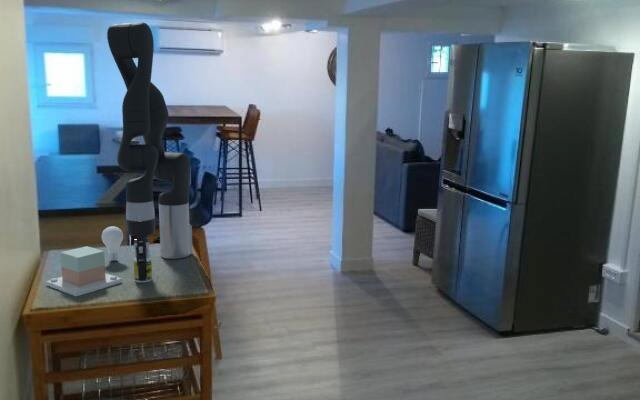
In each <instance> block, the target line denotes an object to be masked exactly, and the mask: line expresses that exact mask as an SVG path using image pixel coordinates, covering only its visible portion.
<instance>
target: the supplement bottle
mask: <svg viewBox="0 0 640 400" xmlns="http://www.w3.org/2000/svg"><path fill="white" fill-rule="evenodd" d="M150 256H151V252H150V249H149V250H148V257H147V278H146V279H139V276H138V266H137V258H136V257H134V258H133V269H134V271H133V272H134V282H136V283H140V284H141V283H142V284H143V283H149V282H151V281H152V280H153V269H152V268H153V267H152V258H151V257H150ZM141 261H144V259H139V262H141Z"/></svg>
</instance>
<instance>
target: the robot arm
mask: <svg viewBox="0 0 640 400" xmlns="http://www.w3.org/2000/svg"><path fill="white" fill-rule="evenodd" d="M106 39H107V43H108V47H109V50H110V52H111V54H112V55H111V56H112V57H113V60H114V62H115V64H116V67H117V68H118V71H119V73H120V75H121V78H122V80H123V82H124V85H125V88H126V92H125V95H124V97H123V100H122V109H121V111H122V135H121V141H120V145H119V149H118V152H117V156H116V157H117V158H116V160H117V164H118V167H119V168H120V169H121V170H123V171H126V172H128V171H144V174H143V175H141V176H139V177H135V178H131V179H129V180H127V181H126V183H125V195H126V197H125V199H126V205H125V217H126V218H125V219H126V233H127V235H128V236H131V237H136V238H134V241H133V247H134V258H137V266H138V276H139V279H146V278H147V257H148V250H149V251H150V249H149V247H150V238H148V236H151V235H153V234H155V232H156V217H155V216H156V215H155V204H154V191H153V190H154V187H153V186H154V178H155V179H156V180H158V181H160V182H169V183H170V182H171V183H172V182H173V185H172V188H171V189H170V190H167V191H165V192H161V193H159V195H158V216H159V218H158V219H159V243H160V257H162V258H164V259H167V260H168V259H169V260H170V259H171V260H176V259H177V260H178V259H183V258H184V259H185V258H187V257H189V256H190V255H192V254H193V229H192V228H193V226H192V224H190V206H189V205H190V203H189V198H190V190H191V189H190V188H191V187H190V183H191V180H190V179H191V178H190V177H191V176H190V175H191V164H190V158H189V156H188V155H187V154H186V153H184V152H177V151H176V152H174V151H173V152H171V151H165V147H164V145H163V140H162V139H163V135H164V133H165V130H166V127H167V125H168V122H169V110H168V107H167V105H166V101H165V98H164V96H163V93H162V91H161V90H160V89H159V88H158V87H157V86H156V85H155V84H154V83H153V82H152V80H151V79H152V73H153V59H154V51H155V49H154V47H155V45H154V43H155V42H154V36H153V32H152V29H151V27H150V26H149V24H148V23H146V22H142V21H141V22H127V23H115V24H111V25H109V27H108V28H107V32H106ZM134 59H137V65H136V63H135V61H134ZM138 137H142V138H143V140H144V144H138V143H137V144H131V143H132V141H133V139H135V138H138ZM139 259H144V261H141V262H139Z"/></svg>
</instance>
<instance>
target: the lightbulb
mask: <svg viewBox="0 0 640 400" xmlns="http://www.w3.org/2000/svg"><path fill="white" fill-rule="evenodd" d="M123 240H124V233H123V231H122V229H121V228H119V227H118V226H114V225H111V226H108V227H105V228H104V229H103V231H102V233H101V241H102V242H103V244H104V246H105V247H106V250H107V251H108V260H109V261H111V262H115V261H117V260H119V250H120V245H121V244H122V242H123Z"/></svg>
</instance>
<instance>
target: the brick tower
mask: <svg viewBox="0 0 640 400" xmlns="http://www.w3.org/2000/svg"><path fill="white" fill-rule="evenodd" d="M105 261H106V260H105V251H104V250H102V249H99V248H95V247H91V246H87V245H86V246H82V247H77V248H74V249H70V250H65V251H61V252H60V263H61V264H60V265H61V276H60V277H54V278H50V279H49V280H46V281H45V284H46V286H47V287H49V286H50V288H52V289H55V290H57V289H58V291H60V292H63V293H65V294H68V295H71V296H74V297H78V296H82V295H86V294H89V293H93V292H96V291H98V290H102V289H106V288H109V287H112V286H115V285H117V284H118V285H119V284H122V283H123V280H122V279H123V278H122V277H118V276H117V275H112V274H109V273H106V262H105Z"/></svg>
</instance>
